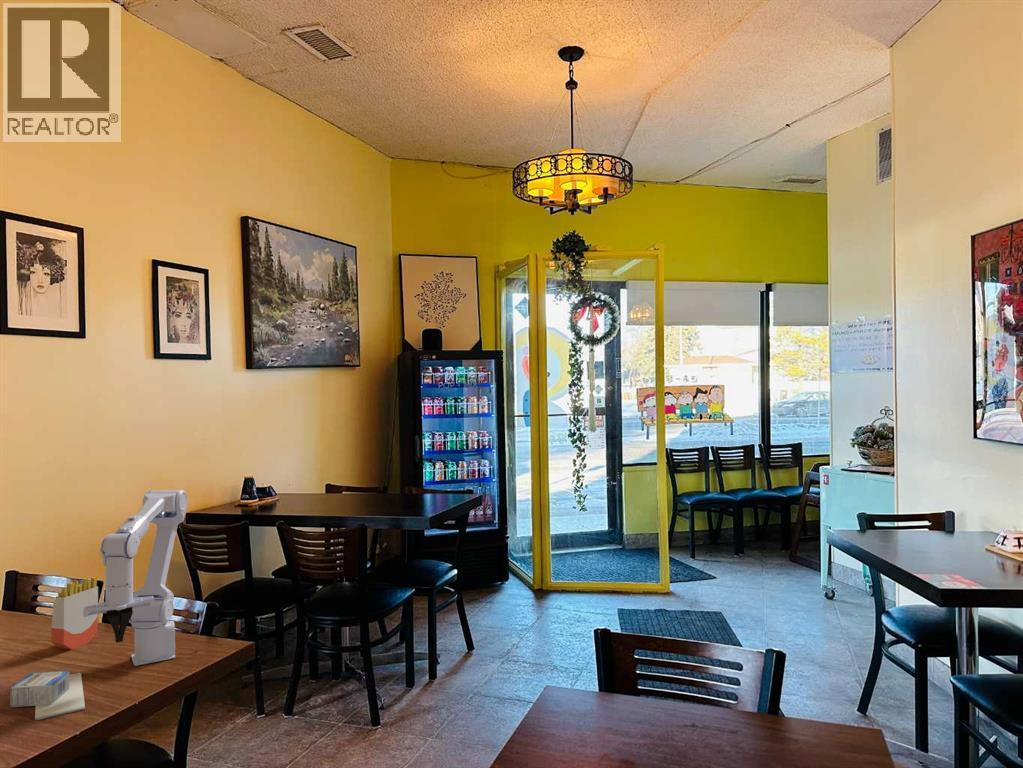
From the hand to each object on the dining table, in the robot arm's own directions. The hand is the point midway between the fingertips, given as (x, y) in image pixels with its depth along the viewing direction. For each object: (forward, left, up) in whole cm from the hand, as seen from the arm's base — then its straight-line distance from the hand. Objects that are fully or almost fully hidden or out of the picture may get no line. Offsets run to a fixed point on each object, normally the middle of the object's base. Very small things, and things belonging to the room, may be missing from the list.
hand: (119, 640), depth 161 cm
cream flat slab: (+12, -1, -10) cm, 16 cm away
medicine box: (+11, +1, -8) cm, 14 cm away
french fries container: (+8, -36, -11) cm, 38 cm away
